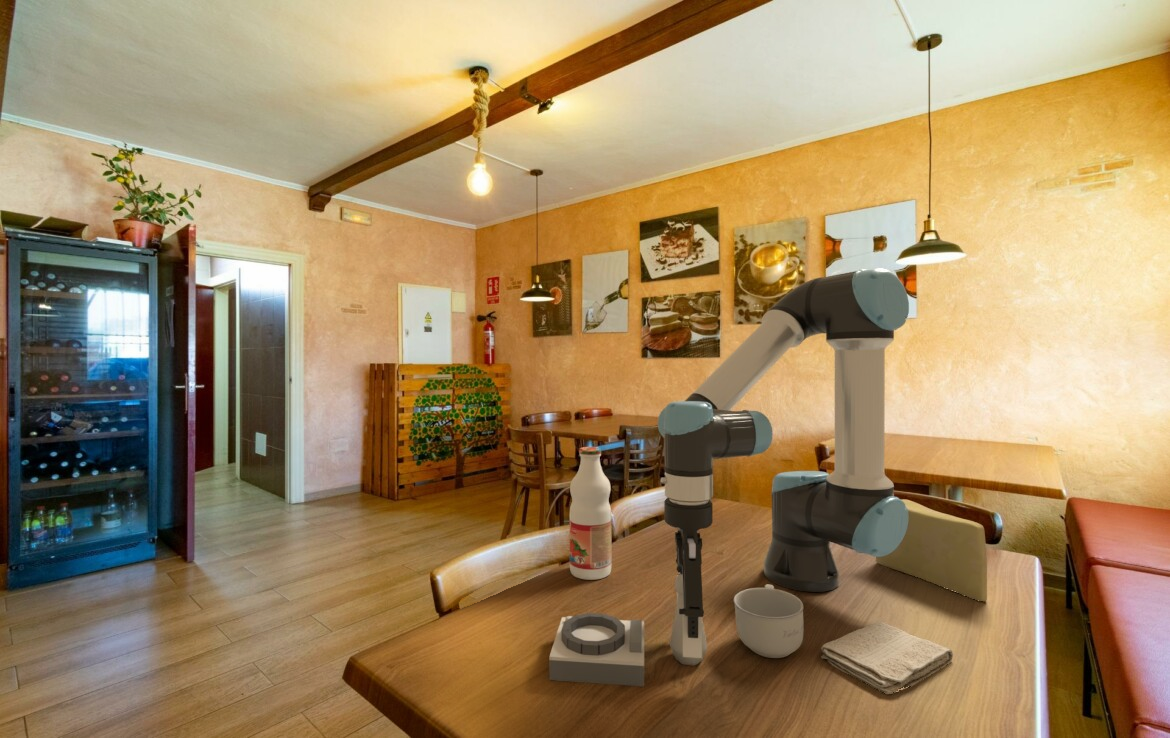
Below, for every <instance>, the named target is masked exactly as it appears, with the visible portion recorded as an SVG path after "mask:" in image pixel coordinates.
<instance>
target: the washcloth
mask: <svg viewBox="0 0 1170 738" xmlns="http://www.w3.org/2000/svg"><path fill="white" fill-rule="evenodd" d="M820 650H821V652H822V653H823V654H822V655H821V656H820V659H822V660H827V662H828V663H829V664H830V665H831V666H832V667H834V668H836V669H837V670H840V671H841V672H843V673H845V674H846V673H847V675H848V674H849V675H848V676H850V675H851V677H853V676H854V677H853V678H855V677H856V678H858V679H859V680H858V679H857V680H858V681H860V680H861V681H860V682H862V681H863V682H865V683H866V684H865V683H864V684H865V685H867V684H868V685H867V686H869V685H870V686H869V687H871V686H872V687H874V688H876V689H878V690H879V691H878V690H877V691H878V692H880V691H882V692H884V693H885V695H891V694H896V693H895V692H896V691H898V689H901V688H903V687H904V688H906V687H908V686H911V687H913V686H915V685H917V684H918V683H920V682H922V681H923V680H925V679H927V678H929V677H930V676H932V675H933V674H934V673H936V672H938V671H940V670H941V669H943V668H945V667H947V666H948V665H950V663H952V661H953V657H954V654H953V650H952V649H949V648H948V647H946V646H943V645H941V644H938V643H935V642H932V641H931V640H929V639H923V638H920V637H918V636H915V635H914V634H913V635H912V634H909V633H908V632H907V631H904V630H902V629H900V628H898V627H896V626H893V625H891V624H888V623H885V622H882V621H877V622H874V623H873V622H872V623H871V624H869V625H868V626H864V627H862V628H859V629H856V630H853V631H852V632H849V633H847V634H846V633H845V635H843V636H841V637H839V638H837V639H833V640H831V641H828V642H827V643H823V645H822V646H821V647H820ZM947 664H948V665H947ZM946 665H947V666H946ZM940 668H941V669H940ZM931 674H932V675H931ZM926 677H927V678H926ZM856 678H855V679H856ZM924 678H925V679H924ZM922 679H923V680H922ZM921 680H922V681H921ZM919 681H920V682H919ZM863 682H862V683H863ZM872 687H871V688H872ZM874 688H873V689H874ZM876 689H875V690H876ZM882 692H881V693H882ZM893 692H894V693H893ZM884 693H883V694H884Z"/></svg>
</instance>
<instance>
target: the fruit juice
mask: <svg viewBox="0 0 1170 738" xmlns="http://www.w3.org/2000/svg"><path fill="white" fill-rule="evenodd" d="M578 453H579V457H580V462H579V463H580V464H579V468H578V471H576V474H575V475H574V476H573V478H572V480H571V481H570V486H569V487H570V488H569V492H570V496H571V498H572V502H571V504H570V507H569V570H570V571H569V572H570V573H571V575H572V576H573V577H575V578H577V579H581V580H587V581H588V580H589V581H593V580H600V579H604V578H606V577H608V576H609V575H610V574H611V571H612V508H611V505H610V502H609V498H610V494H611V482H610V480H609V478H608V477H607V476H606V475H605V473H604V471H603V467H602V465H601V459H600V457H601V456H602V449H601V447H598V446H597V447H596V446H583V447H580V448H579V451H578Z"/></svg>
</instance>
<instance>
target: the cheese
mask: <svg viewBox="0 0 1170 738" xmlns="http://www.w3.org/2000/svg"><path fill="white" fill-rule="evenodd" d="M901 500H902V501H903V502H904V503H905V505H906V507H907V509H908V515H909V519H908V526H907V530H906V533H905V536H904V538H903V540H902V541H901V543H900V544H899V546H898V547H897V548H896V549H895V550H894V551H893V552H891V553H890V554H888V555H886V556H882V557H876V556H875V562H876V564H878V565H880V566H883V567H886V568H889V569H892V570H895V571H898V572H900V573H903V574H907V575H908V576H912V577H914V576H915V578H917V577H918V578H917V579H920V578H921V579H920V580H922V579H923V580H922V581H925V580H926V581H925V582H928V581H929V582H928V583H930V582H932V583H931V584H933V583H934V584H933V585H935V584H937V585H939V586H938V587H940V586H942V587H945V588H948V589H950V590H953V591H956V592H958V593H960V594H962V595H965V596H967V597H966V598H968V597H970V598H973V599H975V600H974V601H976V600H979V601H983V602H986V601H988V558H987V556H988V555H987V547H986V546H987V544H986V535H985V528H984V526H983V525H982V524H981V523H978V522H975V521H973V520H969V519H965V518H961V517H957V516H954V515H951V514H947V513H943V512H940V511H937V510H934V509H931V508H928V507H927V506H924V505H922V504H920V503H917V502H915V501H912V500H909V499H901ZM937 585H936V586H937ZM942 587H941V588H942ZM945 588H944V589H945ZM950 590H949V591H950ZM960 594H959V595H960ZM962 595H961V596H962ZM965 596H964V597H965ZM970 598H969V599H970ZM973 599H972V600H973ZM979 601H978V602H979Z"/></svg>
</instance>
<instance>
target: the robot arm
mask: <svg viewBox="0 0 1170 738" xmlns="http://www.w3.org/2000/svg"><path fill="white" fill-rule="evenodd" d="M909 312H910V302H909V296H908V293H907V290H906V287H905V286H904V283H903V282H902V281H901V280H900V279H899V277H898V276H897V275H896V273H894V272H892V271H890V270H888V269H885V268H870V269H858V270H855V271H850V272H845V273H844V272H843V273H839V274H834V275H828V276H822V277H821V276H820V277H816V278H812V279H810V280H807V281H805V282H803V283H801V284H799V285H798V286H797V287H795V288H793V289H792V290H790V291H789V292H788V293H786V294H785V295H784V296H783V297H781V298H780V299H779V300H778V301H777V302H776V303H774V304H773V305H772V306H771V307H769V309H768V310H767V311H766V312H765V313H764V314H763V316H762V319H761V324H760V325H759V326H758V327H757V328H756V329H755V330H754V331H752V333H751V334H750V335H749V336H748V337H746V339H745V340H744V341H742V343H741V344H740V345H739V346H738V347H737V348H736V349H735V350H733V352H732V353H731V354H730V355H729V356H728V357H727V358H726V359H725V360H724V361H723V362H722V363H721V364H720V365H719V366H718V367H717V368H716V369H715V370H714V371H713V372H712V373H711V374H710V375H709V376H708V377H707V378H706V379H704V381H703V382H702V383H701V384H700V385H699V386H698V387H697V388H696V389H695V390H694V391H692V393H691V394H690V395H689V396H688V397H687V398H686V399H685V400H684V401H683V400H678V401H671V402H669V403H668V404H667V405H666V406H665V407H664V408H662V410H661V411H660V413H659V414H658V418H657V428H658V432H659V433H660V436H662V438H663V445H664V448H663V449H664V454H663V455H664V456H663V457H664V477H660V483H661V484H664V496H665V497H666V499H665V500H664V501H663V502H664V503H663V504H664V509H663V510H664V512H663V513H664V515H663V516H664V517H663V518H664V521H665V524H667V525H668V526H670V527H672V528H675V529H677V532H675V531H674V540H675V550H676V559H675V563H676V565H677V566H676V571H677V573H676V578H677V577H678V576H679V575H682V576H683V598H684V608H683V609H679V614H683V657H693V658H702V621H703V617H704V615H705V610H704V602H703V600H704V599H703V582H702V581H703V580H702V579H703V577H702V575H703V574H702V564H703V561H702V559H703V558H702V557H703V556H702V549H703V539H702V538H701V533H700V532H698V531H699V530H702V529H707V528H709V527H711V526H712V524H713V502H712V501H711V499H713V496H714V473H713V472H714V471H713V470H714V468H713V464H714V460H719V459H728V458H735V457H736V458H737V457H747V458H748V457H751V456H754V455H759V454H763V453H765V452H766V451H767V450H768V449H769V448H770V446H771V445H772V442H773V435H774V433H773V426H772V423H771V422H770V420H769V418H768V417H767V415H765V414H764V413H762V412H761V411H759V410H758V411H757V410H747V409H743V410H733V408H734V407H735V406H736V405H737V404H738V403H739V402H740V401H741V400H742V399H743V398H744V397H745V396H746V395H747V393H749V391H751V389H752V388H754V386H755V385H756V384H757V383H758V382H759V381H760V380H761V379H762V378H763V377H764V376H765V374H766V373H767V372H768V371H769V370H771V368H772V367H773V366H774V365H775V364H776V363H777V362H778V361H779V360H780V358H782V357H783V355H785V354H786V352H787V351H789V349H791V348H796V347H798V346H800V345H801V344H802V343H803V342H804V341H805V340H807V338H810V337H813V336H816V335H820V334H825V335H826V336H825V341H826V343H827V344H828V345H829V346H830V347H831V348H833V351H834V470H833V471H832V472H831V473H830V474H829V473H828V472H825V471H818V470H817V471H816V470H797V471H796V470H795V471H785V472H780V473H777V474H775V475H774V477H773V478H772V487H771V489H772V490H771V530H772V532H771V534H772V535H771V542H770V544H769V547H768V550H767V552H766V555H765V558H764V562H763V574H764V576H765V577H766V579H768V580H769V581H771V582H772V583H774V584H776V585H778V586H781V587H783V588H786V589H790V590H795V591H800V592H808V593H809V592H810V593H823V592H828V591H832V590H834V589H836V588H838V586H839V584H840V581H839V579H840V578H839V577H840V575H839V574H840V573H839V570H838V567H837V563H836V561H835V558H834V555H833V551H832V549H831V545H830V543H832V544H835V545H839V546H842V547H845V548H847V549H850V550H852V551H854V552H856V553H858V554H865V555H868V556H872V557H875V558H876V557H882V556H886V555H888V554H890V553H891V552H893V551H894V550H895V549H896V548H897V547H898V546H899V544H900V543H901V541H902V540H903V538H904V536H905V533H906V530H907V526H908V519H909V515H908V509H907V507H906V505H905V503H904V502H903V501H902V499H900V498H899V497H897V496H895V494H894V493H895V491H894V488H895V486H894V483H893V481H892V480H891V479H890V478H889V477H888V476H886V474H885V409H886V408H885V403H886V401H885V395H886V394H885V387H886V386H885V383H886V381H885V378H886V377H885V374H886V373H885V369H886V367H885V364H886V363H885V357H886V356H885V354H886V353H885V350H886V349H887V347H888V346H889V345H890V344H892V343H893V342H894V340H895V331H897V330H898V329H900V328H902V327H903V326H904V325H905V323H906V322H907V321H906V320H907V318H908V317H909ZM677 599H678V593H677V592H676V600H677Z"/></svg>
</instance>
